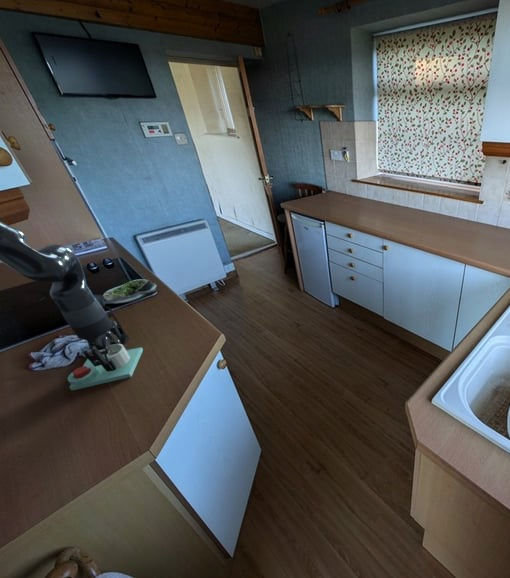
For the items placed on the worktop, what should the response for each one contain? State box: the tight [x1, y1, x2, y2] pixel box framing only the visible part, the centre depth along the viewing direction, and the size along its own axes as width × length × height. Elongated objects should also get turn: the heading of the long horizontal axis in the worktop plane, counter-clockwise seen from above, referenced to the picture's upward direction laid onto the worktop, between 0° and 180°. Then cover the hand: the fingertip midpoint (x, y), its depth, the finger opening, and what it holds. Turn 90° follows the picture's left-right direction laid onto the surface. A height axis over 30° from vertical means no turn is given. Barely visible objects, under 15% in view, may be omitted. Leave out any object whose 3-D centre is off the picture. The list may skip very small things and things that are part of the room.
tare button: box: [71, 365, 90, 378], centre depth 83 cm, size 3×3×2 cm
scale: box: [66, 347, 144, 391], centre depth 88 cm, size 15×12×3 cm
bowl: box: [100, 344, 130, 369], centre depth 87 cm, size 6×6×5 cm
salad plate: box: [102, 278, 158, 305], centre depth 122 cm, size 19×18×5 cm
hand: (116, 361), depth 88 cm, fingers closed on bowl, 6 cm apart
